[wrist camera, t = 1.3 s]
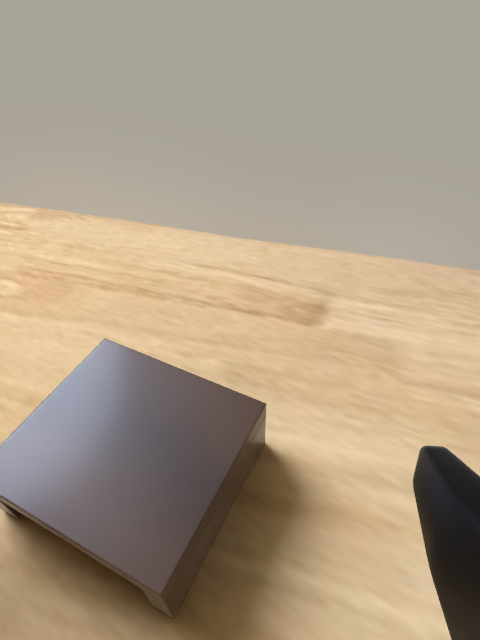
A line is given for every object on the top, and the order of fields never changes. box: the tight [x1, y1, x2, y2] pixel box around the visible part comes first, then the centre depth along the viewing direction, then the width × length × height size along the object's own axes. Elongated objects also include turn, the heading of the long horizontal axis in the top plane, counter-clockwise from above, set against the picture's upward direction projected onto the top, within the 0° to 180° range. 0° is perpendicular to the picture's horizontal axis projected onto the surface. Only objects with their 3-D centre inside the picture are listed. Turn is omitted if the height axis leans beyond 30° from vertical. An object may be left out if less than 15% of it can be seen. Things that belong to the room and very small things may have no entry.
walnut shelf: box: [0, 339, 266, 618], centre depth 23 cm, size 10×11×4 cm
